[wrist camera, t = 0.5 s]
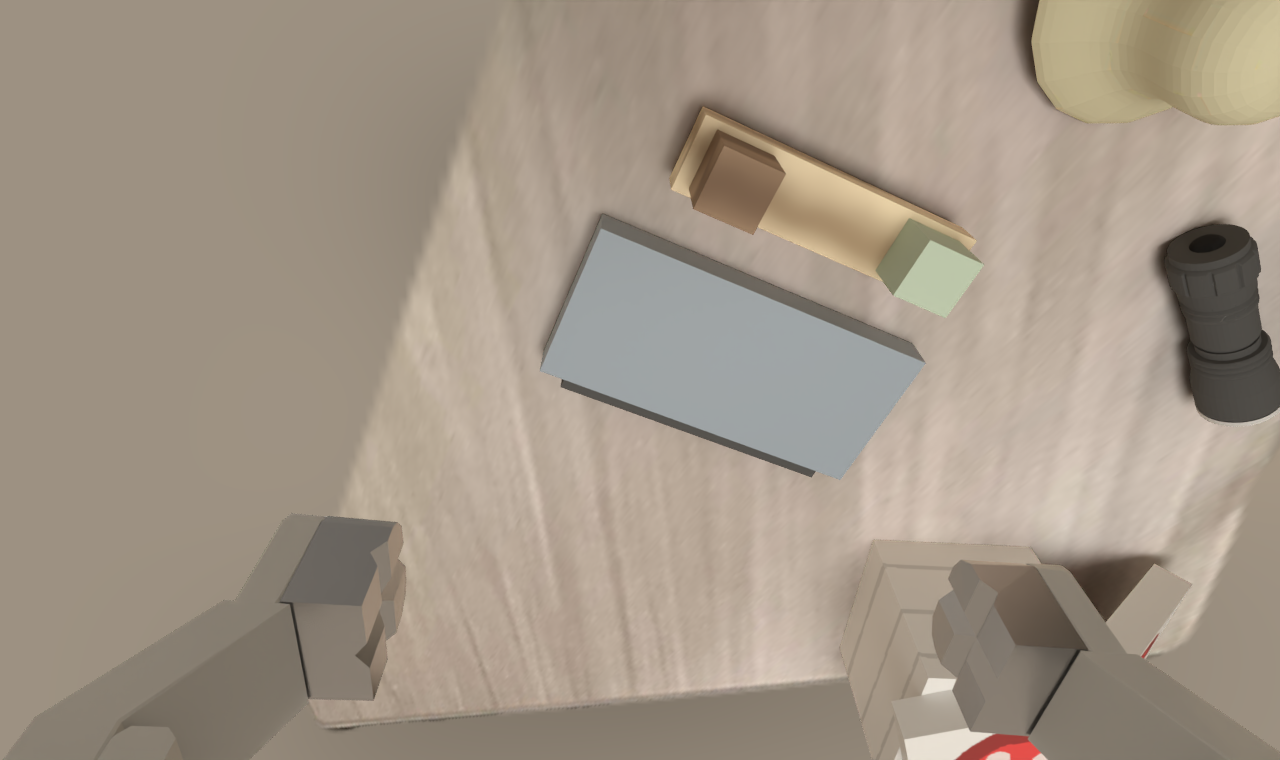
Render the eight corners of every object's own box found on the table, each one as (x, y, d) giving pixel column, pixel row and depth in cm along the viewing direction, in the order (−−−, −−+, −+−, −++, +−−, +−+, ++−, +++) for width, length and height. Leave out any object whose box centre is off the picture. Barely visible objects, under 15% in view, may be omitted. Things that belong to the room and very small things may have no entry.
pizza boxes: (1097, 670, 79) (1211, 851, 63) (815, 659, 77) (861, 842, 62) (1177, 533, 69) (1336, 709, 53) (856, 518, 67) (923, 694, 52)
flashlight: (1142, 245, 54) (1190, 274, 50) (1221, 208, 53) (1278, 234, 48) (1180, 398, 61) (1225, 437, 57) (1251, 369, 60) (1303, 406, 55)
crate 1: (717, 129, 46) (724, 145, 42) (774, 155, 47) (786, 174, 43) (688, 188, 48) (693, 208, 44) (744, 212, 48) (753, 234, 45)
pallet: (700, 101, 49) (706, 114, 45) (954, 220, 53) (976, 240, 50) (668, 171, 51) (671, 189, 48) (913, 280, 55) (932, 303, 52)
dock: (602, 213, 52) (601, 228, 50) (912, 343, 58) (925, 363, 56) (539, 361, 59) (535, 381, 56) (825, 466, 64) (833, 488, 62)
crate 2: (909, 218, 49) (930, 239, 45) (959, 241, 50) (984, 264, 46) (875, 270, 51) (893, 295, 47) (924, 292, 51) (945, 318, 48)
